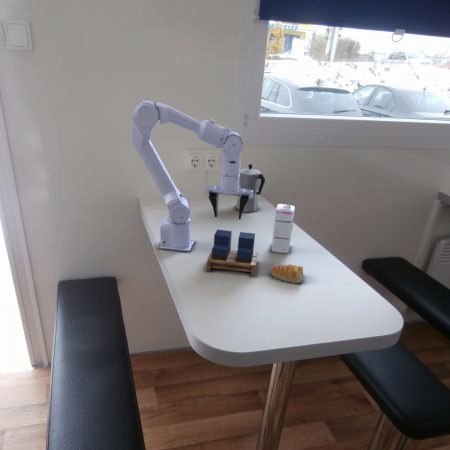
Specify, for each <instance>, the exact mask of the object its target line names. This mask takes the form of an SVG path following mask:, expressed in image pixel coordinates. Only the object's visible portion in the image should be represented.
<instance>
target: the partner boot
mask: <svg viewBox="0 0 450 450" xmlns="http://www.w3.org/2000/svg"><path fill="white" fill-rule="evenodd" d="M255 238H256V233H255V232H254V233H253V232H245V231H240V232H239V235H238V240H237V250H236V251H237V257H236V262H243V263H251V262H252V257H253V253H254V250H255V249H254V248H255Z"/></svg>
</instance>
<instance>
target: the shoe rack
mask: <svg viewBox="0 0 450 450" xmlns="http://www.w3.org/2000/svg"><path fill="white" fill-rule="evenodd" d="M236 257H237V250H233V249H231V250H230V253H229V256H228V258H227V260H226V261H224V260H216V259H212V249H211V251H210V253H209V255H208V257H207V260H206V272H211V271H212V268H213V269H219V270H220V269H222V270H230V271H239V272H247V273H248V272H249V273H250V277H255V274H256V270H257V269H256V268H257V262H258V252H253V257H252V262H251V263H243V262H236Z"/></svg>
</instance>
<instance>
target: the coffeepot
mask: <svg viewBox="0 0 450 450" xmlns="http://www.w3.org/2000/svg"><path fill="white" fill-rule="evenodd" d="M253 166H254V165H253V164H252V163H249V164H248V168H240V179H239V188H242V189H247V190H253V197H252V198H249V199H248V202H247V203H246V205H245V207H244V209H243V212H245V213H253V212H256V211H258V209H259V202H258V201H259V200H258V196H260V195H261V193H262V190H263V187H264V186H265V182H266V178H265V176H264V174H263V173H262V172H261V171H260V170H257V169H255V168H253ZM240 198H241V196H237V201H236V205H235V207H236V209H237V210H238V211H239V210H240Z"/></svg>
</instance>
